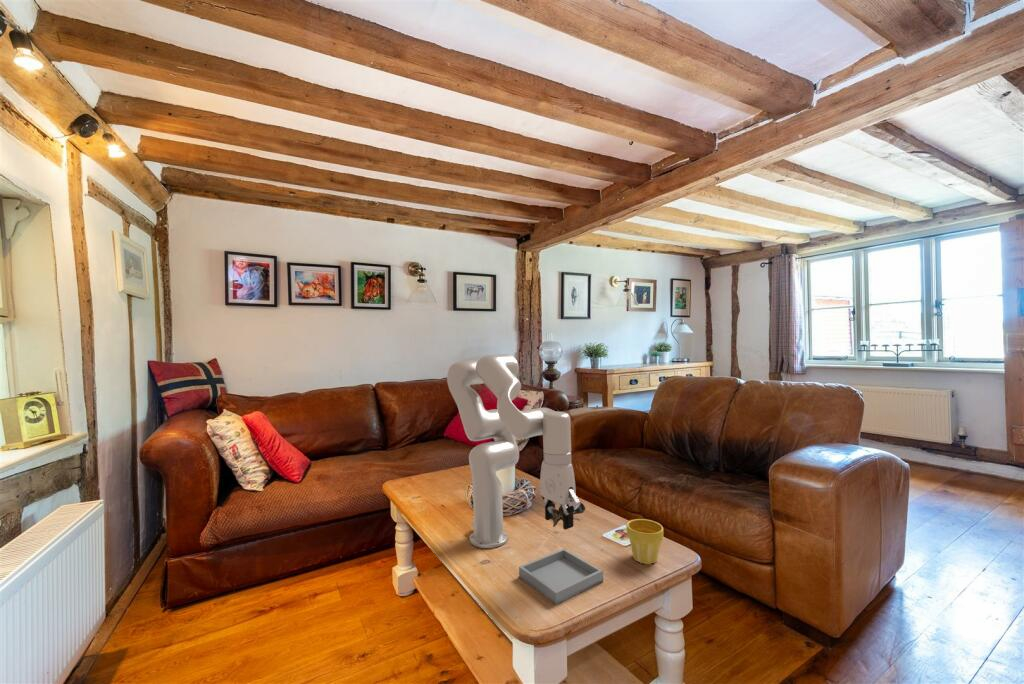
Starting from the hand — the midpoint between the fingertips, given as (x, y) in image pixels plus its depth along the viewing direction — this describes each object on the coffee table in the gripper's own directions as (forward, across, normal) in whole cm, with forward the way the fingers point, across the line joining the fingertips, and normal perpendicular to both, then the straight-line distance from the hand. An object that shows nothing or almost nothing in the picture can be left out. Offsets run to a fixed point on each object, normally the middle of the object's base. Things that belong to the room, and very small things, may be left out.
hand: (559, 522), depth 119 cm
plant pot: (+16, +7, +27) cm, 32 cm away
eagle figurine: (+1, 0, +2) cm, 3 cm away
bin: (+16, 0, 0) cm, 16 cm away
